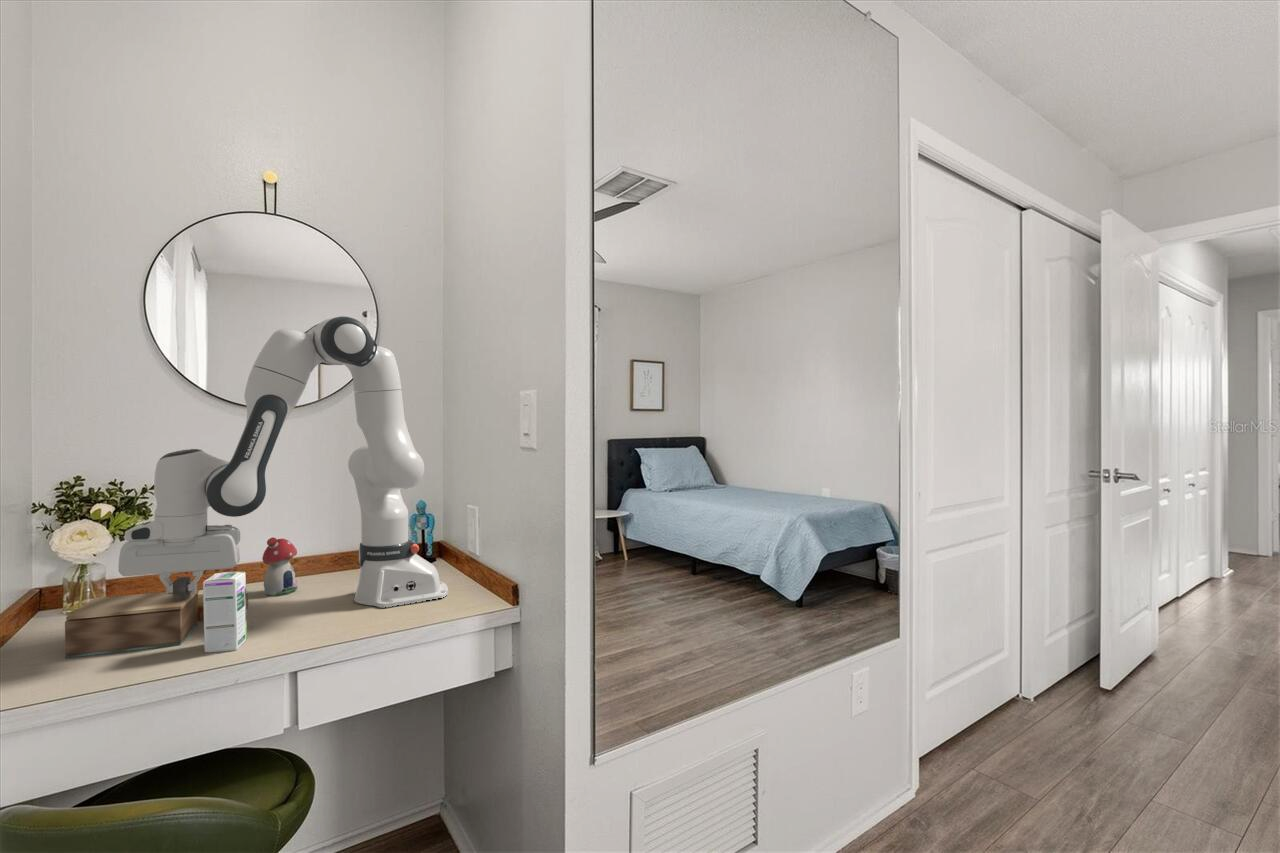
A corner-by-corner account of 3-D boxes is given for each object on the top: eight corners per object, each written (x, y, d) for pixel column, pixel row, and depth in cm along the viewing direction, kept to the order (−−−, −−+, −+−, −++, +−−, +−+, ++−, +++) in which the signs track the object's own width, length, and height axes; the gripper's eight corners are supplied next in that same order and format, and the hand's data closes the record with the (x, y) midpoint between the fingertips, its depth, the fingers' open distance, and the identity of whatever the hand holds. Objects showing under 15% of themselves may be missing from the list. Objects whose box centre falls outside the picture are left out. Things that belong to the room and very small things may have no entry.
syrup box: (237, 650, 119) (237, 578, 118) (202, 653, 117) (202, 580, 117) (247, 639, 124) (247, 570, 124) (214, 642, 123) (214, 572, 122)
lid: (198, 592, 132) (198, 571, 132) (181, 609, 121) (181, 586, 121) (94, 600, 125) (94, 579, 125) (66, 620, 114) (65, 596, 114)
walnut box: (197, 624, 132) (197, 593, 132) (180, 644, 121) (180, 610, 121) (93, 635, 125) (93, 602, 125) (65, 658, 114) (64, 621, 114)
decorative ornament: (271, 599, 150) (271, 539, 149) (253, 595, 152) (253, 537, 152) (305, 589, 159) (304, 533, 158) (287, 586, 161) (287, 530, 161)
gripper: (243, 521, 132) (243, 583, 133) (127, 527, 124) (127, 593, 125) (236, 526, 126) (236, 591, 127) (114, 533, 118) (115, 602, 119)
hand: (181, 592), depth 126 cm, fingers closed on lid, 2 cm apart
